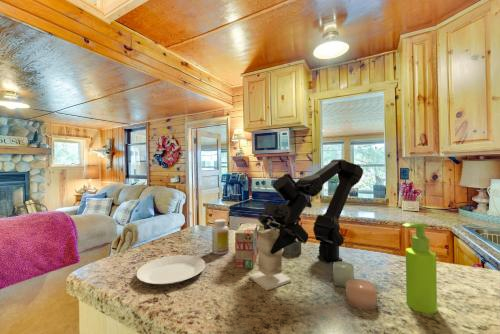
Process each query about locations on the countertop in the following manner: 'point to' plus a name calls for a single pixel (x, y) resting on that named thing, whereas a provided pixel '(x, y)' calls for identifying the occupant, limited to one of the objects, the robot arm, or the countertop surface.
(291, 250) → the dice cube
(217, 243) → the supplement bottle
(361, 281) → the pink soap bar
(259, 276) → the tile
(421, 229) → the soap dispenser
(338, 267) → the sage jar
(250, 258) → the stack of blocks
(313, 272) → the countertop surface
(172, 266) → the plate
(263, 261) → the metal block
